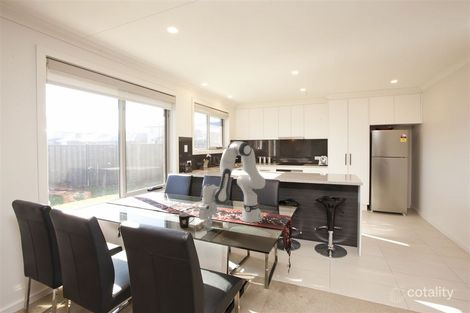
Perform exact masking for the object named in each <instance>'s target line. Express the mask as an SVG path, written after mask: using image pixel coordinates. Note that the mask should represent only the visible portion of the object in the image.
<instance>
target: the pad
mask: <svg viewBox="0 0 470 313" xmlns="http://www.w3.org/2000/svg"><path fill="white" fill-rule="evenodd" d="M213 229H214V228H213V227H211V228H205V227H202V228H201V230H202V231H208V232H210V231H212V230H213Z"/></svg>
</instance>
